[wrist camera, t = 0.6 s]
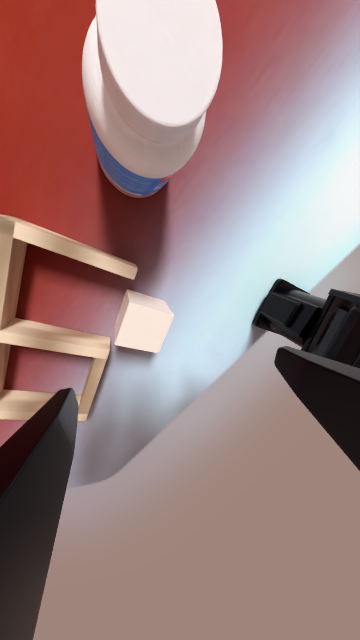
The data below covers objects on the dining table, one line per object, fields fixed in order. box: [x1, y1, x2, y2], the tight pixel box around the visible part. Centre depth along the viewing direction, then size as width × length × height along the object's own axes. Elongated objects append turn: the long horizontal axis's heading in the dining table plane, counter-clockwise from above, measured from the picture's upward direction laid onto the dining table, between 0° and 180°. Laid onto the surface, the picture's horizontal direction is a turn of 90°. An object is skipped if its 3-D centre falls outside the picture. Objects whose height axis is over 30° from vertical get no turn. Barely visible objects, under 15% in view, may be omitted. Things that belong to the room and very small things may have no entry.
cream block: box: [115, 289, 175, 353], centre depth 18 cm, size 4×4×4 cm
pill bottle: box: [82, 0, 222, 198], centre depth 10 cm, size 6×5×10 cm
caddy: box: [0, 215, 138, 421], centre depth 17 cm, size 9×17×2 cm, turn 156°
